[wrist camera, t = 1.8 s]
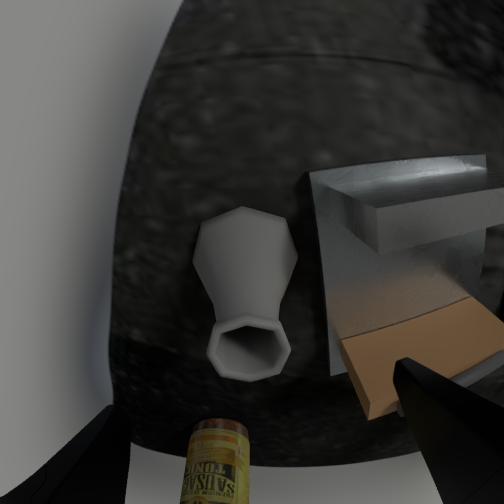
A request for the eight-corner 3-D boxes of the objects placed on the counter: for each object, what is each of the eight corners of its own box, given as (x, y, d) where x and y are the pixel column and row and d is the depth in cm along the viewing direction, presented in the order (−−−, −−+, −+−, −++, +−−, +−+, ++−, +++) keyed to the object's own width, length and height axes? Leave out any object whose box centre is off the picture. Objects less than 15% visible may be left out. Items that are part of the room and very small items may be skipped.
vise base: (465, 321, 23) (508, 364, 15) (327, 368, 24) (352, 438, 16) (477, 153, 17) (547, 166, 10) (305, 171, 18) (350, 187, 10)
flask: (198, 305, 21) (174, 411, 11) (187, 208, 18) (134, 270, 9) (296, 300, 21) (330, 403, 12) (298, 203, 18) (353, 259, 9)
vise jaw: (468, 313, 21) (516, 360, 14) (341, 358, 22) (373, 433, 14) (471, 296, 21) (524, 341, 13) (341, 340, 21) (376, 417, 13)
